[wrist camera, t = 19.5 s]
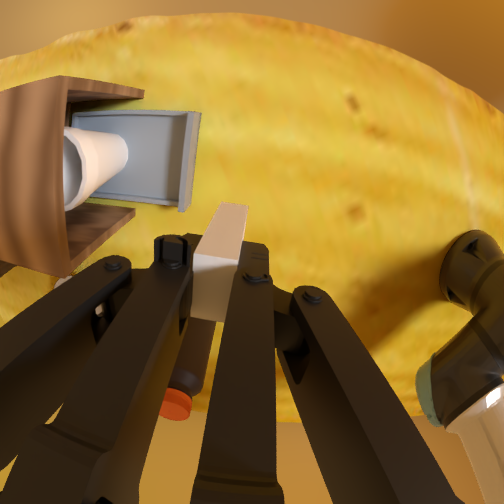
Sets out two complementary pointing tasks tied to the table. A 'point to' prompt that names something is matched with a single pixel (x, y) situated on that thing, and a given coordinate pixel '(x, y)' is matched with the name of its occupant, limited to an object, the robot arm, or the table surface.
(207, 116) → the table surface
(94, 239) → the wood grain box
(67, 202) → the foam cup
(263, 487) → the robot arm
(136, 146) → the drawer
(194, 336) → the bottle
